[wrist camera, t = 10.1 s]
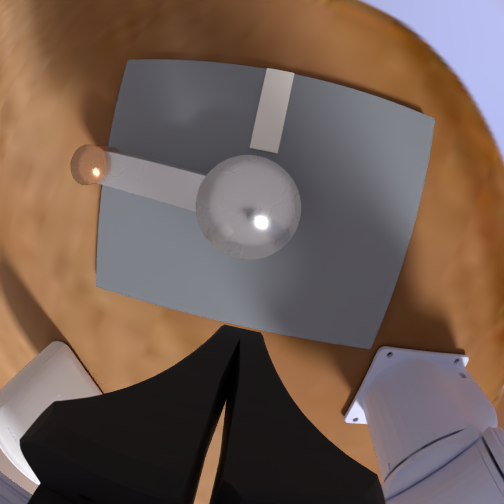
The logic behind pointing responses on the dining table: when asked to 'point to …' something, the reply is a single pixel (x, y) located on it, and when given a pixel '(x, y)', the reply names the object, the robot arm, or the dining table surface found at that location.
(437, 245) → the dining table surface
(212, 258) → the lock plate
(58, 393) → the photo printer
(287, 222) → the lever with ball knob
